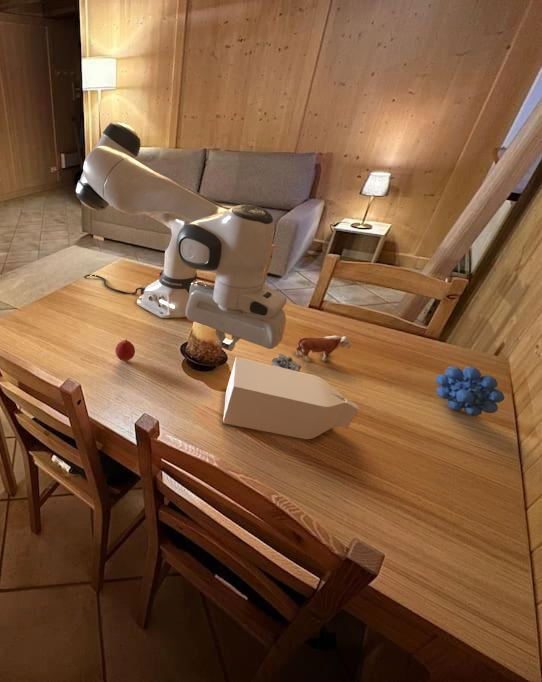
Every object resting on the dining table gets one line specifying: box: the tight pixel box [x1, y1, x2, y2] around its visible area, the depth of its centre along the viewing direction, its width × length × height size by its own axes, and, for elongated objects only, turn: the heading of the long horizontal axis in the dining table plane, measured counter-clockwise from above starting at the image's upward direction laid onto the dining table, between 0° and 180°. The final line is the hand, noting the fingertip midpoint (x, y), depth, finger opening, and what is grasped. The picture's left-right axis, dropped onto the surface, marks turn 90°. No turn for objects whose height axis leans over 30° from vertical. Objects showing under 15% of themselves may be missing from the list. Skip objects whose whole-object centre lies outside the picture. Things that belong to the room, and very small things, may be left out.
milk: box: [222, 356, 359, 440], centre depth 83 cm, size 12×12×26 cm
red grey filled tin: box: [271, 353, 302, 372], centre depth 92 cm, size 8×3×10 cm, turn 23°
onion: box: [115, 338, 136, 362], centre depth 107 cm, size 6×6×8 cm
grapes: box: [434, 365, 505, 417], centre depth 82 cm, size 12×7×12 cm, turn 40°
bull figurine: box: [295, 334, 353, 362], centre depth 102 cm, size 4×13×8 cm, turn 79°
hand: (226, 347), depth 79 cm, fingers closed
